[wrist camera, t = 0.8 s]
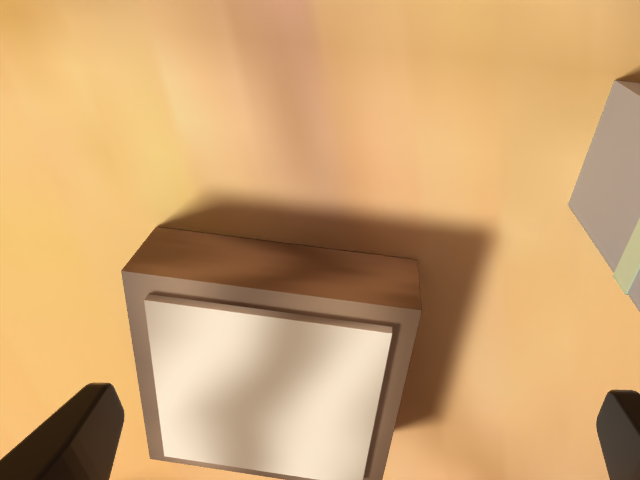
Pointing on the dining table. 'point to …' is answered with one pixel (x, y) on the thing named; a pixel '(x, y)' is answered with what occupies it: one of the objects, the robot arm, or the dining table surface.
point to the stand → (270, 353)
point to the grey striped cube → (614, 187)
